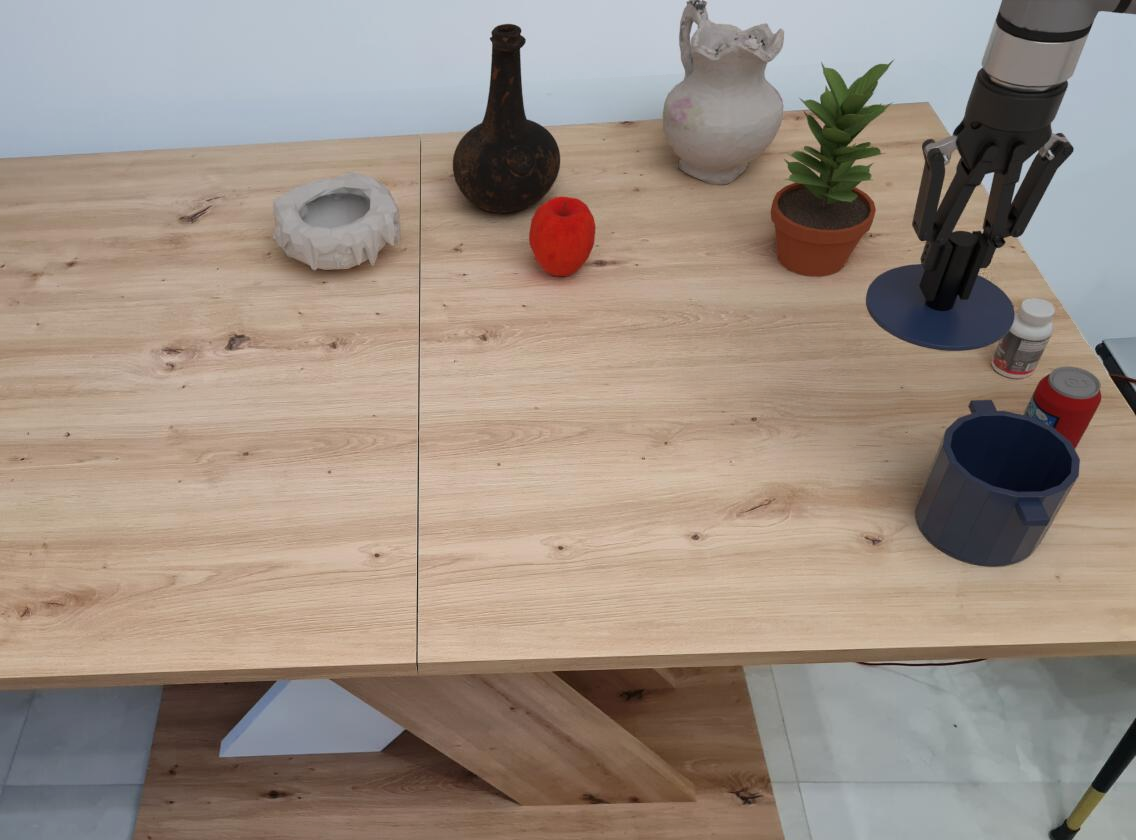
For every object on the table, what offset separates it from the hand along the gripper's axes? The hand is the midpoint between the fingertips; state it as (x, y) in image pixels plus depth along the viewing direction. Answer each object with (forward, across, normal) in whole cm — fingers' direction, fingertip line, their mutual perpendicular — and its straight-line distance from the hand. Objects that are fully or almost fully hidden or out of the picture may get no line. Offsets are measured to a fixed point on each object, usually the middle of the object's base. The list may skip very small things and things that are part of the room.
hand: (943, 292), depth 111 cm
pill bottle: (+26, -22, -18) cm, 38 cm away
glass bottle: (+26, +45, -66) cm, 84 cm away
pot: (+26, -9, +10) cm, 29 cm away
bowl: (+26, +72, -51) cm, 92 cm away
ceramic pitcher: (+26, +10, -75) cm, 80 cm away
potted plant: (+26, -1, -45) cm, 52 cm away
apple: (+26, +37, -44) cm, 64 cm away
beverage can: (+26, -19, -1) cm, 32 cm away
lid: (+2, 0, 0) cm, 2 cm away
